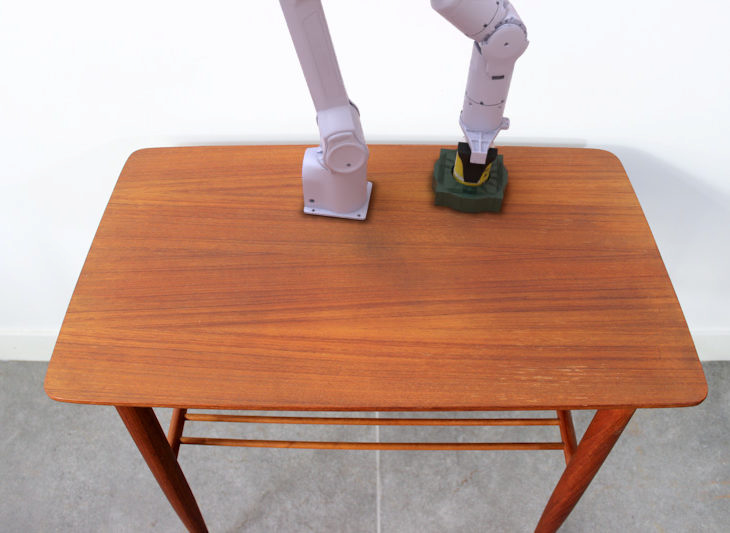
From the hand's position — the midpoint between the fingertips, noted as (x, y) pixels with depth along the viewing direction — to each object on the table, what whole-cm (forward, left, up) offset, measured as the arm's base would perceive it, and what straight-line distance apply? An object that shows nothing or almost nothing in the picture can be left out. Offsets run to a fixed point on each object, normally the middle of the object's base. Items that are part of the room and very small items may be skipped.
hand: (471, 167), depth 92 cm
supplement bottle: (0, 0, -3) cm, 3 cm away
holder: (0, 0, -4) cm, 4 cm away
